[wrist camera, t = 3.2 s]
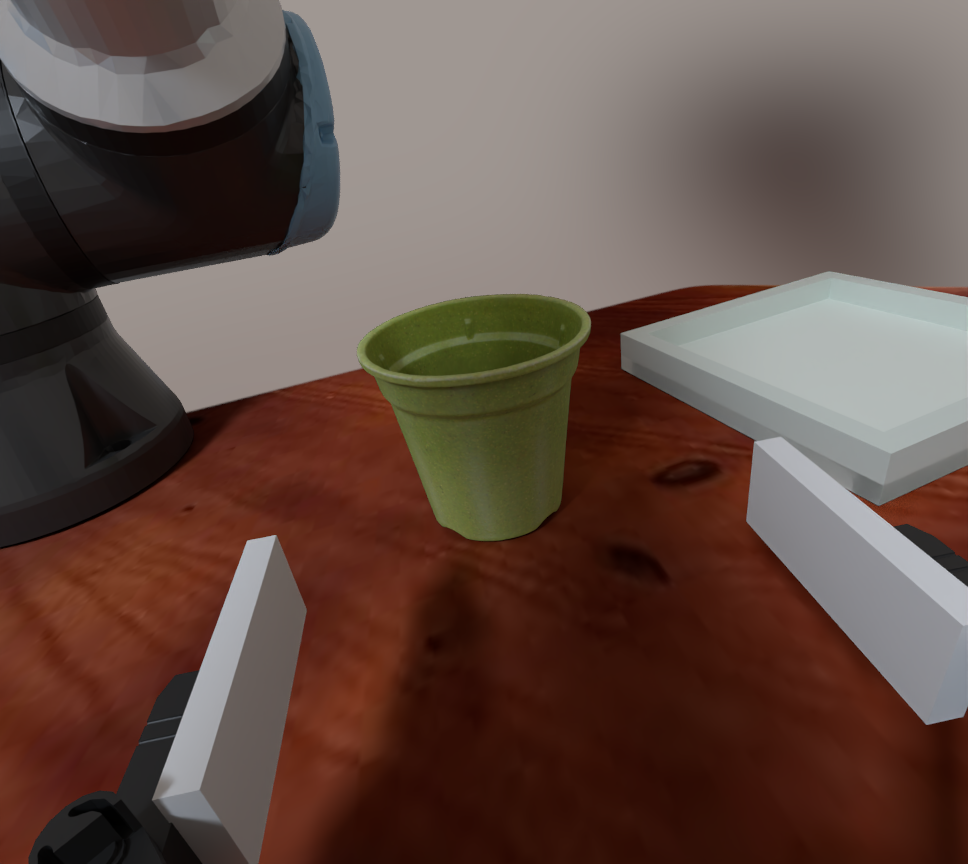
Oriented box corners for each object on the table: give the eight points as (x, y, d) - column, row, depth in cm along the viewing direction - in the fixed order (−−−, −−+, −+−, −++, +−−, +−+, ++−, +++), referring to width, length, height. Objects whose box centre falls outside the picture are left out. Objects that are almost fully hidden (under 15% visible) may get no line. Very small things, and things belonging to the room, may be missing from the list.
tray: (621, 368, 38) (620, 333, 37) (824, 304, 43) (829, 271, 42) (878, 506, 23) (891, 453, 22) (1144, 383, 28) (1166, 335, 27)
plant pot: (572, 437, 31) (560, 280, 27) (627, 549, 23) (622, 348, 19) (404, 466, 31) (366, 313, 27) (398, 589, 23) (343, 396, 19)
